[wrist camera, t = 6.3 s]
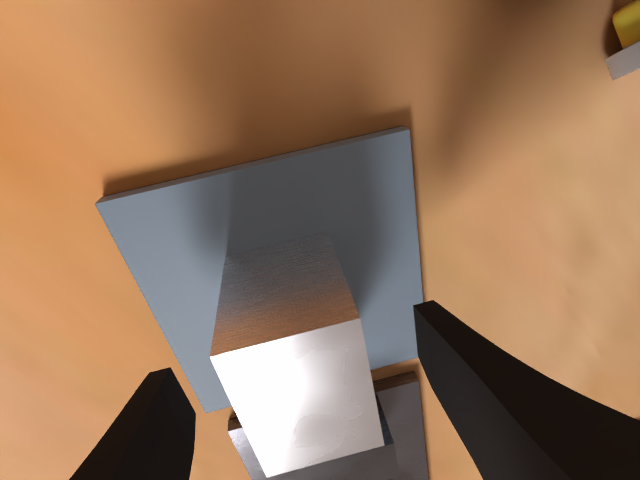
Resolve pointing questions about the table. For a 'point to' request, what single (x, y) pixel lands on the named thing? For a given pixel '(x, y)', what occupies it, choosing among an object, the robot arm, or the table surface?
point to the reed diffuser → (626, 41)
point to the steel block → (294, 355)
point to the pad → (272, 227)
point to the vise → (371, 465)
